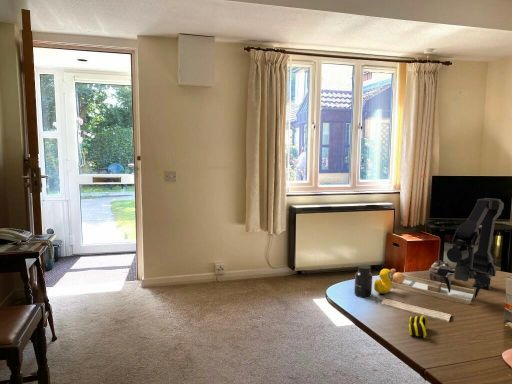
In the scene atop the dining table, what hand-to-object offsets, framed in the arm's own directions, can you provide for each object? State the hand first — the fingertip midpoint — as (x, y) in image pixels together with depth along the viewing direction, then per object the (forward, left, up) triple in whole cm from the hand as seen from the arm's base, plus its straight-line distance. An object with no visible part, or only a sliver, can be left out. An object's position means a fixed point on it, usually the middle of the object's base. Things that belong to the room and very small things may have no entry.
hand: (462, 295), depth 149 cm
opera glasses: (+42, -7, -1) cm, 43 cm away
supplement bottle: (+23, -33, -1) cm, 40 cm away
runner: (0, -13, -1) cm, 13 cm away
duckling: (+15, -27, -1) cm, 31 cm away
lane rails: (0, -13, -1) cm, 13 cm away
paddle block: (+1, -12, +1) cm, 12 cm away
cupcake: (-14, -11, -1) cm, 18 cm away
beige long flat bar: (+24, -12, -2) cm, 27 cm away
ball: (+1, -23, +3) cm, 23 cm away
